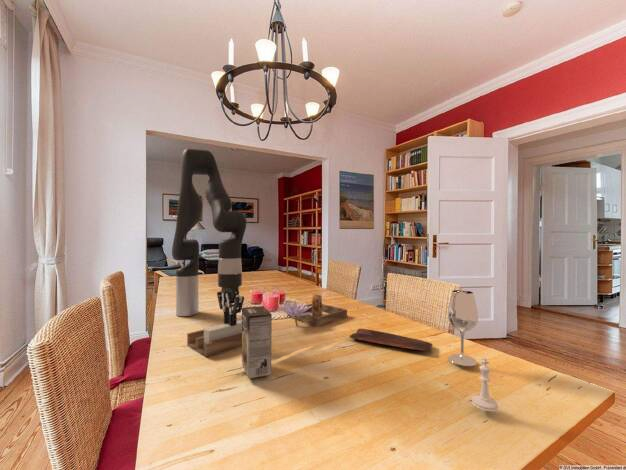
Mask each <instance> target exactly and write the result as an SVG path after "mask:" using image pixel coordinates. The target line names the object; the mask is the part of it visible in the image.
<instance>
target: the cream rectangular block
mask: <svg viewBox="0 0 626 470" xmlns="http://www.w3.org/2000/svg"><path fill="white" fill-rule="evenodd" d="M236 321H237V323H236V325H235V326H230V325H229V323H227V324H225V323H223V324H218V325H213V326H209V327H205V328H203V330H204V348H205V343H208V342H211V341H215V340H219V339H222V338H226V337H229V336H233V335H237V334H240V333H242V319H239V320H238V319H237V320H236Z"/></svg>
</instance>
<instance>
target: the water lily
mask: <svg viewBox="0 0 626 470" xmlns="http://www.w3.org/2000/svg"><path fill="white" fill-rule="evenodd" d="M305 305H306V302H303V303H302V304H301V305H300V306H299V304H298V302H297V301H294V302H293V303H292V304H290V303H288V302H286V303H283V306H278V308H279V309H280V310H281V311H282V312H284V313H288V314H289V315H290V316H295V320H294V321H295V326H296V327H299V325H298V321H297V318H296V315H299V316H305V315H312V312H307V313H303V312H305V311H307V310H308V309H309V308H311V307H312V306H309V307H307V306H305ZM304 306H305V307H304ZM300 313H301V314H300Z"/></svg>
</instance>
